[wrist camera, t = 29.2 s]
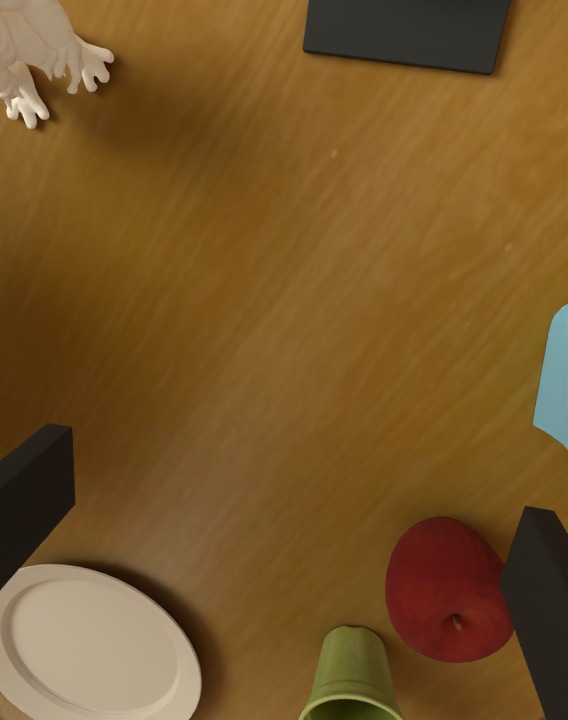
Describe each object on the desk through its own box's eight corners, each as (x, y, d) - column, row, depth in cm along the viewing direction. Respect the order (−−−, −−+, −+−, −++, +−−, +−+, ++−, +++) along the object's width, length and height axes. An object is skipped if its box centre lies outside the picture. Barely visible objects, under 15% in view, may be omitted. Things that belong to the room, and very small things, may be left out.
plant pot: (349, 593, 47) (347, 679, 39) (423, 649, 48) (436, 744, 40) (287, 644, 50) (274, 732, 42) (358, 695, 51) (358, 791, 43)
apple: (506, 574, 44) (545, 680, 35) (398, 592, 46) (408, 696, 37) (480, 484, 41) (515, 573, 32) (368, 508, 44) (370, 597, 34)
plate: (-48, 552, 53) (-63, 565, 51) (181, 550, 48) (174, 565, 46) (23, 722, 61) (13, 739, 59) (225, 734, 56) (220, 753, 55)
